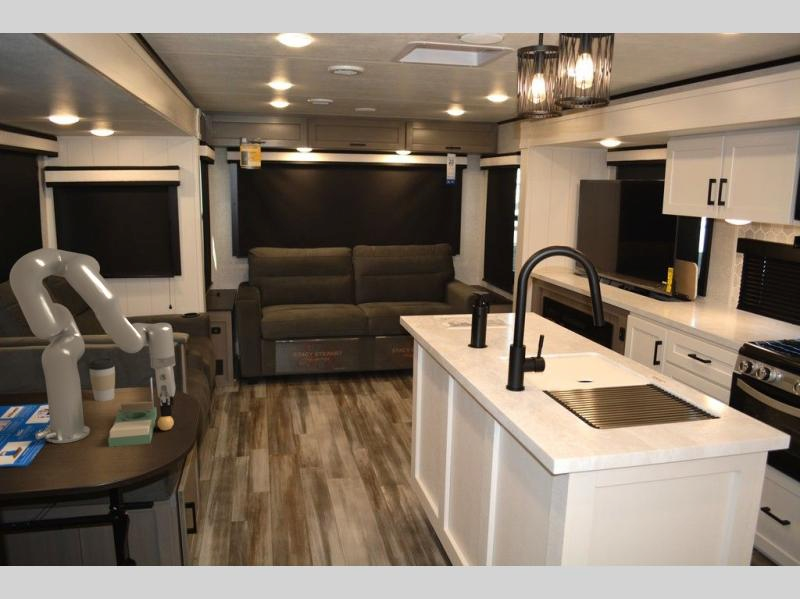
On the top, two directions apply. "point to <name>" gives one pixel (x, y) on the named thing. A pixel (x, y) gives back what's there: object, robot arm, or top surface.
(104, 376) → the coffee cup
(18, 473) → the top surface
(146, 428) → the putting mat
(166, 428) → the ball
